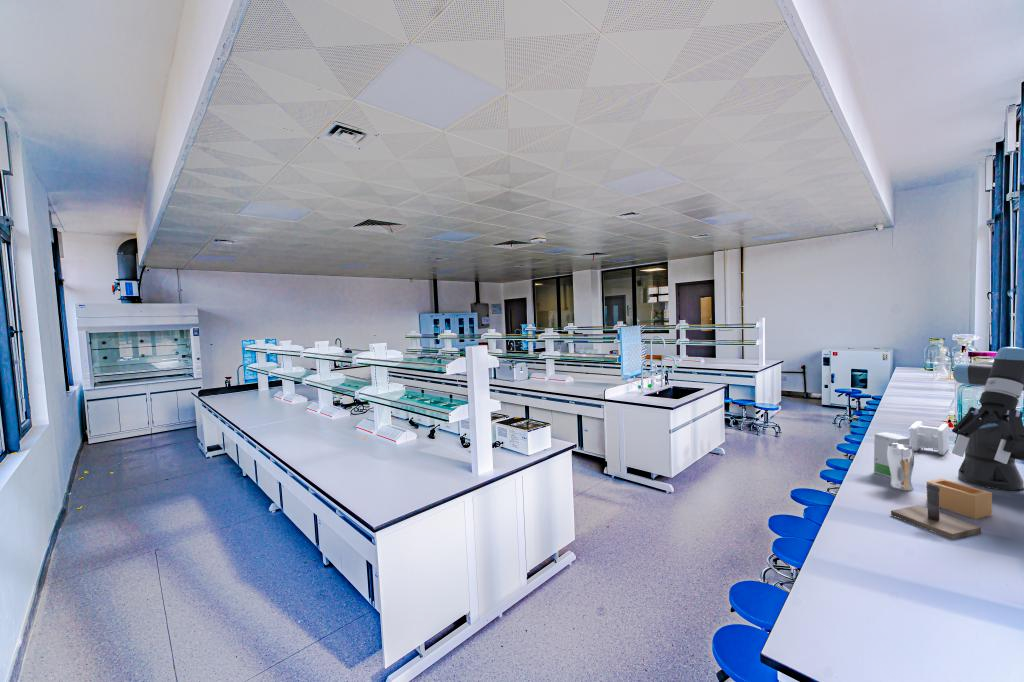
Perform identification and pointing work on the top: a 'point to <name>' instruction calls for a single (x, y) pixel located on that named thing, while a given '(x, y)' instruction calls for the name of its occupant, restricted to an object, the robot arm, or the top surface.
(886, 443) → the skincare box
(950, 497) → the orange link
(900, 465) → the beer glass
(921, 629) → the top surface
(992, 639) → the top surface
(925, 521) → the keeper board
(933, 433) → the cable organizer
